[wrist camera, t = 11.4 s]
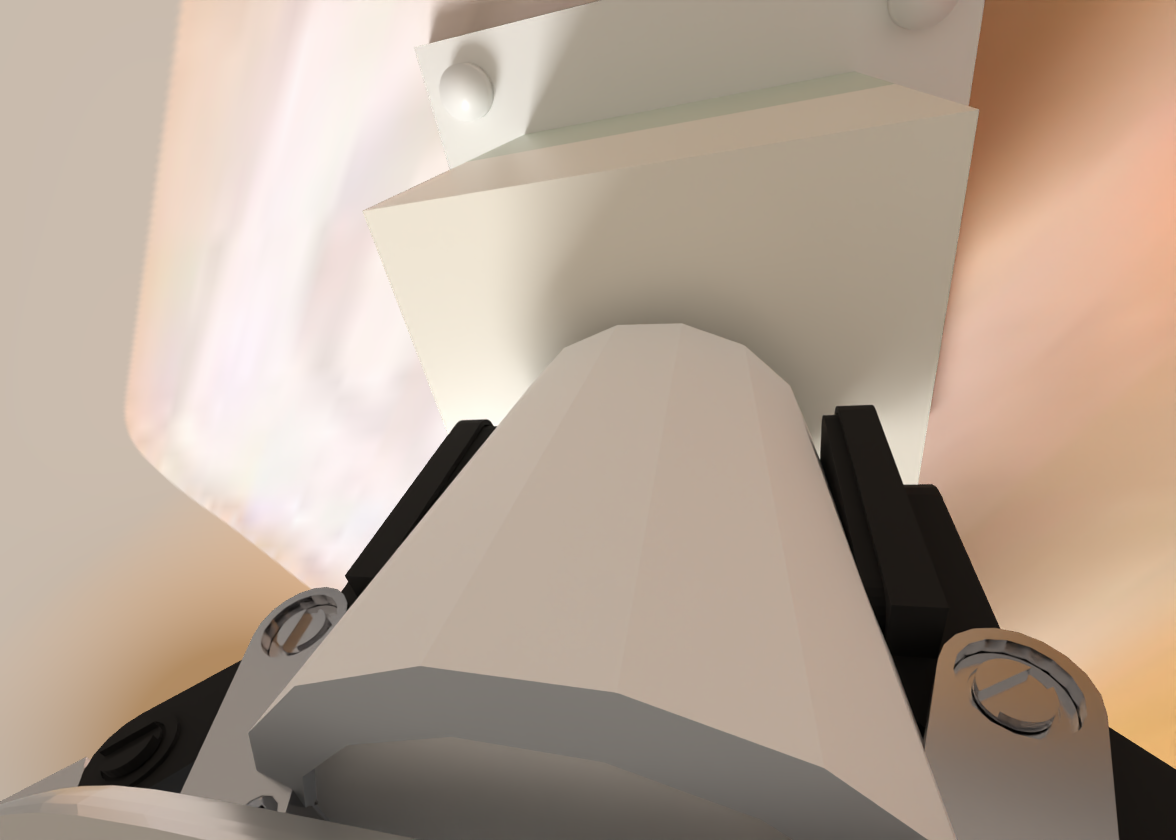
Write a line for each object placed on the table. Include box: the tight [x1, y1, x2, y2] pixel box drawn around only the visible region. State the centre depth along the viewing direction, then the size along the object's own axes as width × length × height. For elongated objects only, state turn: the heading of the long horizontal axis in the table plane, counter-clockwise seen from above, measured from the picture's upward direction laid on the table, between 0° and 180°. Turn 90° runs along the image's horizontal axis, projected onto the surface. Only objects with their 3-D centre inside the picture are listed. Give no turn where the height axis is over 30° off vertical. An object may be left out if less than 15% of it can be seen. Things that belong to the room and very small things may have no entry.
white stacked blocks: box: [362, 0, 985, 485], centre depth 16 cm, size 16×16×11 cm
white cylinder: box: [248, 323, 957, 840], centre depth 8 cm, size 7×7×7 cm
